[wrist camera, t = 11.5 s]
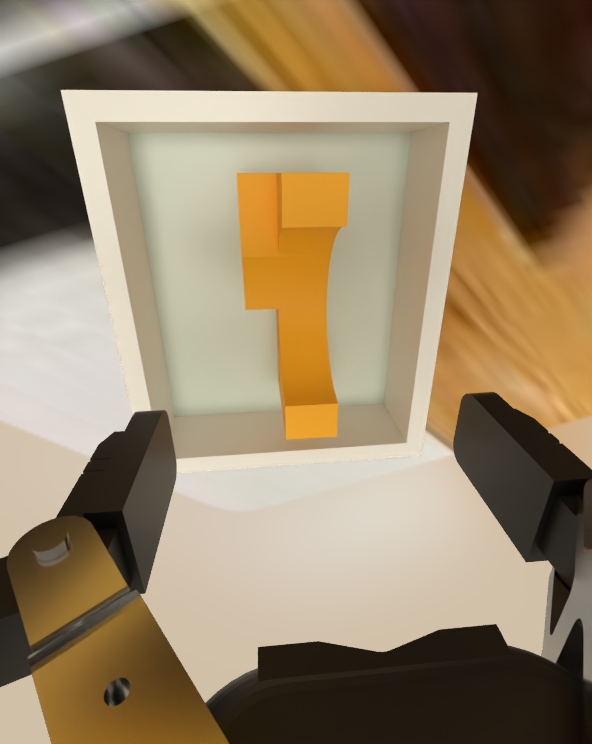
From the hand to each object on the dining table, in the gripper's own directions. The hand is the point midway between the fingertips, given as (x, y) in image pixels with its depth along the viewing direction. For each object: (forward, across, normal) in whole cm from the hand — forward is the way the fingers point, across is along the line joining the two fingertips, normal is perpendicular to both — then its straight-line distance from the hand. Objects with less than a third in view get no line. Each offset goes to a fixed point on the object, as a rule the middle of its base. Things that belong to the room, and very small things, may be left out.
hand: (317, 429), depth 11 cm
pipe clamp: (+14, 0, 0) cm, 14 cm away
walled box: (+15, 0, 0) cm, 15 cm away
